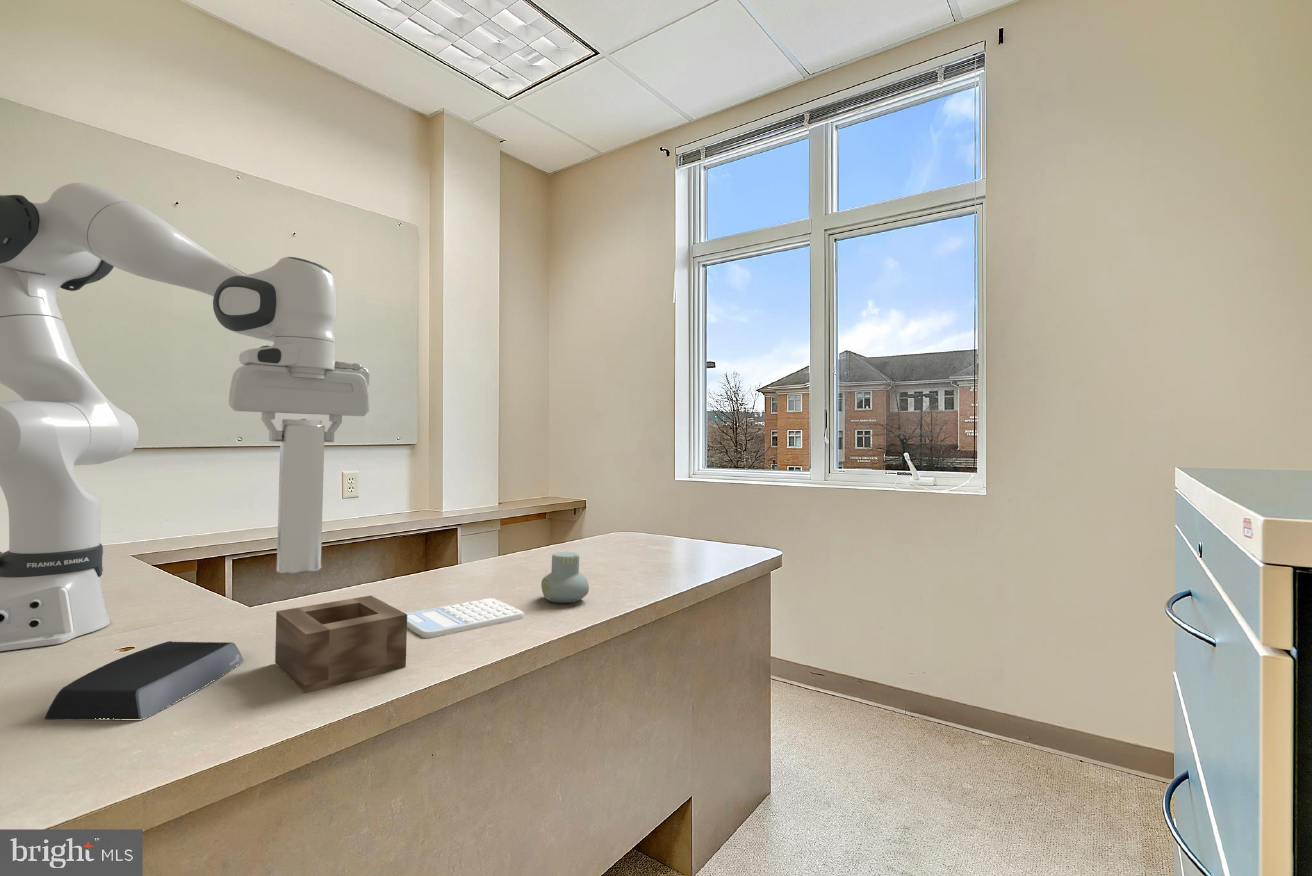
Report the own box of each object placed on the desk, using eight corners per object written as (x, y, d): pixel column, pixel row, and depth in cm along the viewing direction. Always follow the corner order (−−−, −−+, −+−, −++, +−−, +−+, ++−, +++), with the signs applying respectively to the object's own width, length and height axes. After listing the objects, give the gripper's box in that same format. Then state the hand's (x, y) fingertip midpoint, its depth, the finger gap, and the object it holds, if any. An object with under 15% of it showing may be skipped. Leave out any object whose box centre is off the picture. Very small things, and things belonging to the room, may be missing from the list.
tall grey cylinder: (306, 574, 98) (311, 419, 98) (266, 573, 98) (271, 417, 98) (329, 565, 104) (333, 420, 104) (291, 564, 105) (296, 418, 104)
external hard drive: (249, 664, 93) (250, 638, 93) (146, 725, 74) (147, 691, 74) (162, 662, 93) (163, 636, 93) (36, 723, 74) (37, 689, 74)
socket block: (304, 692, 83) (305, 634, 83) (275, 663, 93) (276, 611, 93) (405, 666, 93) (407, 614, 93) (369, 642, 103) (371, 595, 103)
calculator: (525, 620, 119) (526, 610, 119) (424, 642, 106) (425, 631, 106) (492, 604, 129) (492, 595, 129) (396, 622, 115) (396, 612, 115)
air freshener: (538, 595, 135) (539, 550, 135) (573, 592, 139) (574, 548, 139) (554, 608, 126) (555, 560, 126) (591, 604, 130) (593, 557, 130)
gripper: (362, 365, 111) (360, 441, 111) (227, 352, 96) (225, 440, 96) (376, 364, 106) (374, 443, 106) (237, 349, 92) (234, 441, 92)
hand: (302, 441), depth 101 cm, fingers closed on tall grey cylinder, 6 cm apart
